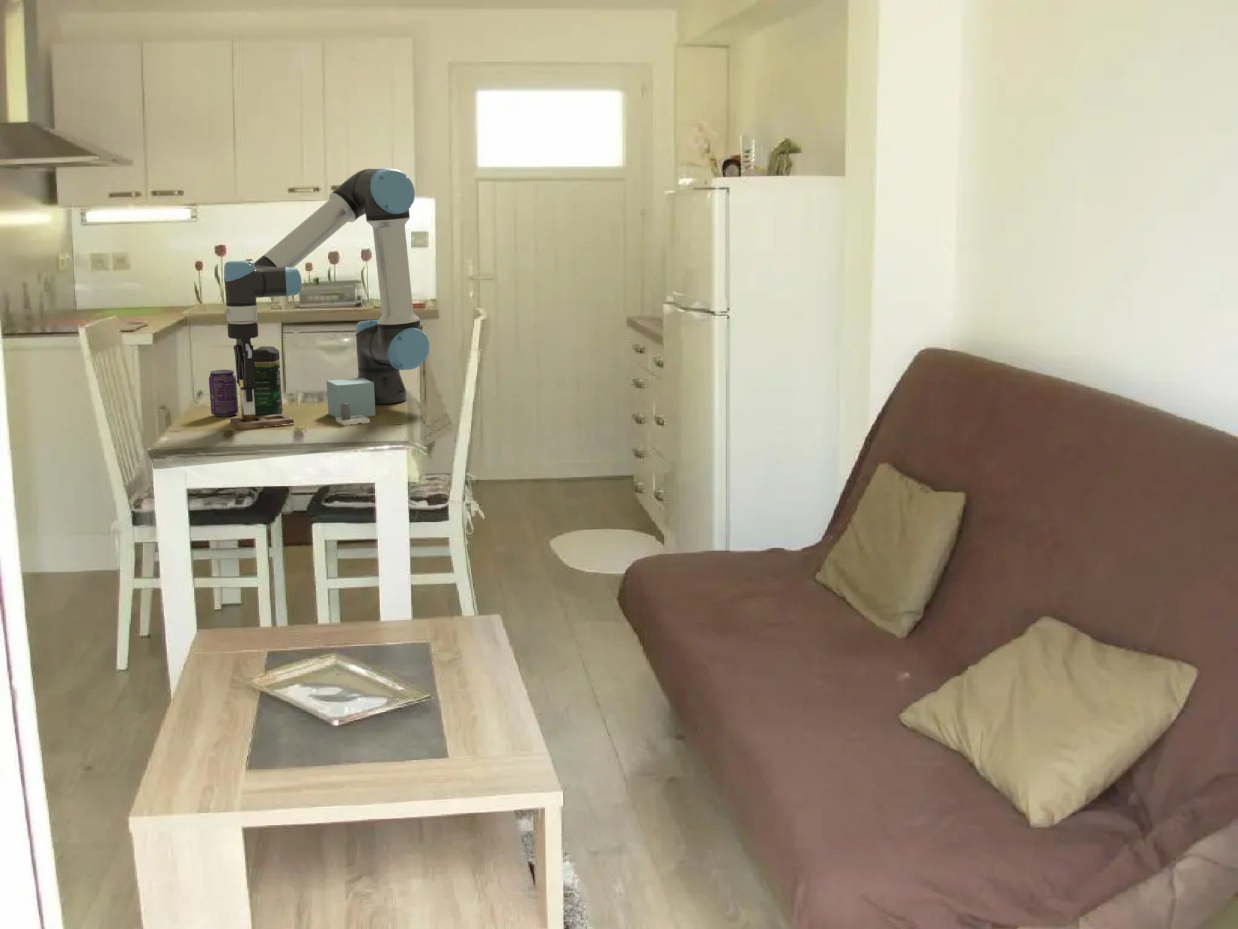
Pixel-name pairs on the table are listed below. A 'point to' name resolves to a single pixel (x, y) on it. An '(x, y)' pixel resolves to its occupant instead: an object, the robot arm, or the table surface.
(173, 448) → the table surface
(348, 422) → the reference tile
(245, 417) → the brass peg
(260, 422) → the brown grid frame
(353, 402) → the block
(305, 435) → the table surface
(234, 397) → the beverage can
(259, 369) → the coffee jar
